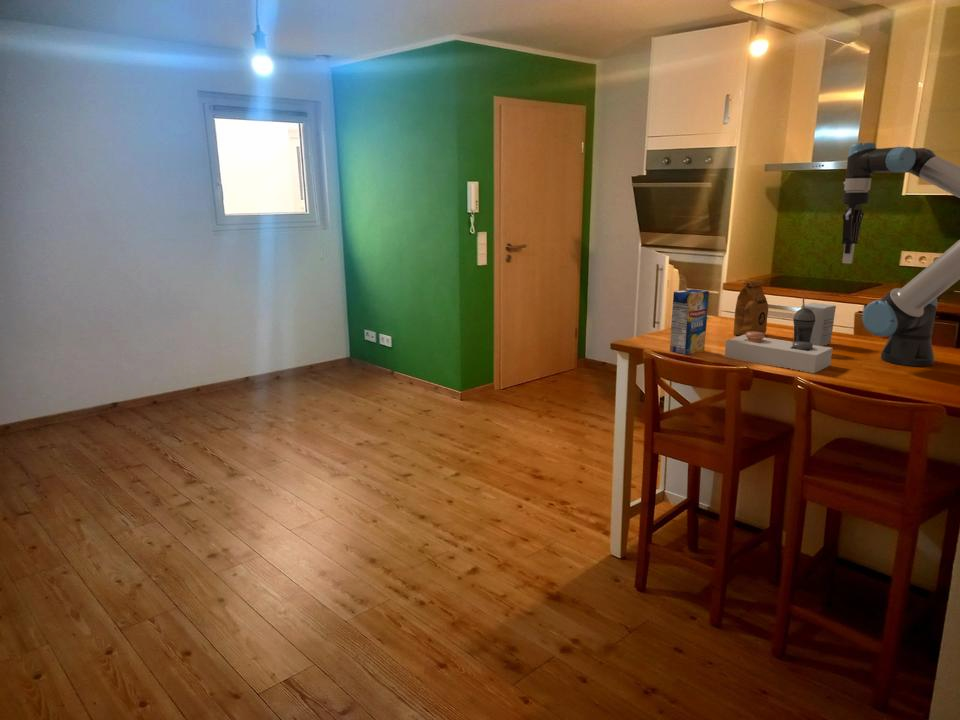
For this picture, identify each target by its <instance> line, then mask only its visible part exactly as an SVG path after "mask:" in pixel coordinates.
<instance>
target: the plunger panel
mask: <svg viewBox="0 0 960 720" xmlns="http://www.w3.org/2000/svg"><path fill="white" fill-rule="evenodd" d="M747 339H748V338H747V337H746V335H745V334H744V335H741V336H739V335H737V336H736V337H734V338H730V339H728V340H725V350H724V358H726V357H728V358H727V359H732V358H733V359H732V360H737V361H738V360H739V361H744V362H748V363H753V364H755V363H756V364H760V365H765V366H770V365H771V367H776V366H778V367H777V368H781V367H784V368H783V369H787V368H790V369H789V370H792V369H795V370H794V371H798V370H800V371H799V372H803V371H804V372H805V373H808V372H809V374H816V373H818V372H820V371H821V370H824V369H826V368H828V367H830V366H831V364H832V363H831V362H832V354H833V347H831V346H830V347H829V346H817V345H813V348H812V349H810V350H809V351H805V350H798V349H794V348H793V347H792V345H793V342H794V341H789V340H783V339H775V338H770V337H765V338H764V339H762V343H755V342H748V341H747Z"/></svg>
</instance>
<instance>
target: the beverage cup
mask: <svg viewBox="0 0 960 720" xmlns="http://www.w3.org/2000/svg"><path fill="white" fill-rule="evenodd" d="M804 304H805V296H804V295H803V296H802V305H803V309H801V308H800V309H799V310H797V311H796V312H795V313H794V315H793V318H792V320H793V342H797V341H801V342H809V343H810V339H811V334H812V330H813V326H814V324H815V321H816V320H815V315H814V313H813V312H812V311H811V310H810V309H805V308H804Z"/></svg>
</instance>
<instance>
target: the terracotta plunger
mask: <svg viewBox="0 0 960 720" xmlns="http://www.w3.org/2000/svg"><path fill="white" fill-rule="evenodd" d="M765 336H766V332H765V333H762V332H754V331H751V332H746V337H747V338H748V339H747V341H748V342H755V343H762V339H764V338H766V337H765Z"/></svg>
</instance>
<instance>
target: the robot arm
mask: <svg viewBox="0 0 960 720" xmlns="http://www.w3.org/2000/svg"><path fill="white" fill-rule="evenodd" d="M845 172H846V175H845V180H844V181H843V185H844V187H843V188H844V191H845V192H844V193H843V195H842V202H841V203H842V205H847V208H846V210H845V213H843V214H842V221H843V222H842V241H841V244H843V245H844V247H843V254H842V260H841V261H842V262H841V263H842V264H853V259H854V252H855V245H858V243H859V236H860V231H861V225H862V221H863V217H864V215H865V213H864V212H863V208H862V206H863V205H867V204H868V203H869V198H870V193H869V192H868V191H870V190H871V184H872V176H873V173H874V174H875V173H893V174H894V173H905V174H906V173H909V174H912V175H913V176H915V177H918V178H920V179H922V180H924V181H925V182H927V183H929V184H931V185H934V186H935V187H937V188H939V189H941V190H943V191H945V192H947V193H949V194H950V195H952V196H955V197H956V198H959V199H960V166H959V165H957V164H955V163H952V162H951V161H948V160H946V159H943V158H941V157H940V156H937V155H936V154H935V152H934V151H933V150H931V149H929V148H924V147H912V146H911V147H910V146H894V147H893V146H892V147H886V148H885V147H884V148H877V144H876V143H875V142H855V143H852V144H851V145H850V146H849V151H848V155H847V163H846V171H845ZM959 280H960V239H959V240H957V241H956V242H954V244H953V245H951V246H950V247H949V248H948V249H946V250H945V251H944V252H942V254H941V255H939V256H938V257H937V258H935V259H934V260H933V261H932V262H931V263H930V264H928V266H926V267H925V268H924V269H923V270H922V271H920V272H919V273H918V274H917V275H916V276H915V277H913V278H912V279H910V281H908V282H907V283H906V284H905V285H904V286H903V287H901V288H897V287H896V288H892V289H891V290H890V291H889V292H888V293H887V294H885V295H884V296H883V297H881V298H880V299H877V300H873V301H872V302H869V303H868V304H867V305H866V306H864V308H863V310H862V314H861V315H862V321H861V322H862V324H863V326H864V328H865V329H866V330H867V332H869V333H870V334H872V335H874V336H877V337H889V338H888V340H887V342H886V343H885V345H884V347H883V349H882V351H881V355H880V359H881V360H883V361H885V362H887V363H891V364H896V365H901V366H908V367H909V366H911V367H931V366H933V365H934V363H935V354H934V350H933V349H934V348H933V345H932V336H933V331H934V326H935V319H936V314H937V309H938V297H939V296H940V295H942V294H943V293H944V292H945V291H947V290H948V289H949V288H950V287H952V286H953V285H955V284H956V283H957V282H958V281H959Z"/></svg>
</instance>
